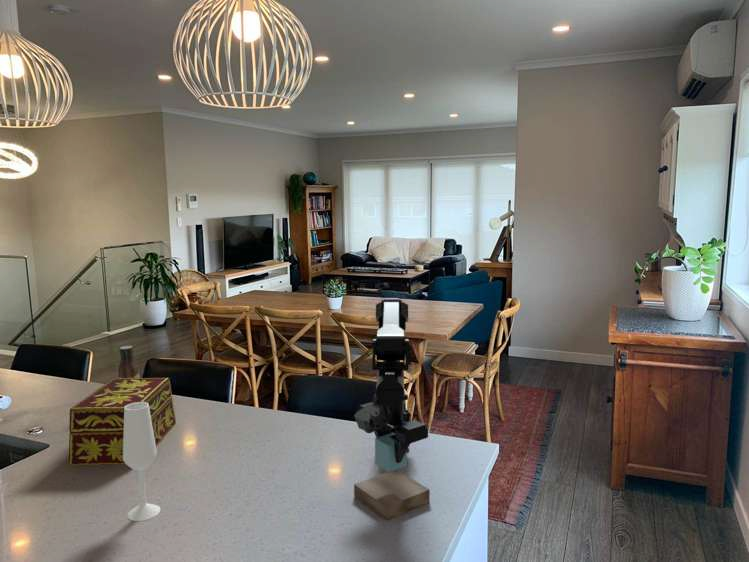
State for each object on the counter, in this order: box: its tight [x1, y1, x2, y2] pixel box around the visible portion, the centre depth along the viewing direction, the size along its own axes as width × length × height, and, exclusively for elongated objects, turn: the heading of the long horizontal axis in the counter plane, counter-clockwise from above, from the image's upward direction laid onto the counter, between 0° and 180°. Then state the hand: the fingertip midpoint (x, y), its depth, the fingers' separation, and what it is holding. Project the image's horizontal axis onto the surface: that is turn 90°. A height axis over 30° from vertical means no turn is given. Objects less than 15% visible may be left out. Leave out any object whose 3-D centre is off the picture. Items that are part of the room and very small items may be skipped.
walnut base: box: [353, 469, 431, 521], centre depth 126 cm, size 12×12×3 cm
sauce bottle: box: [118, 345, 140, 379], centre depth 186 cm, size 7×6×20 cm
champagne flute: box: [123, 402, 161, 522], centre depth 120 cm, size 7×7×24 cm
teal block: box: [374, 433, 408, 472], centre depth 125 cm, size 5×5×6 cm
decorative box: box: [68, 377, 177, 467], centre depth 157 cm, size 28×19×15 cm
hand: (391, 458), depth 125 cm, fingers closed on teal block, 5 cm apart
